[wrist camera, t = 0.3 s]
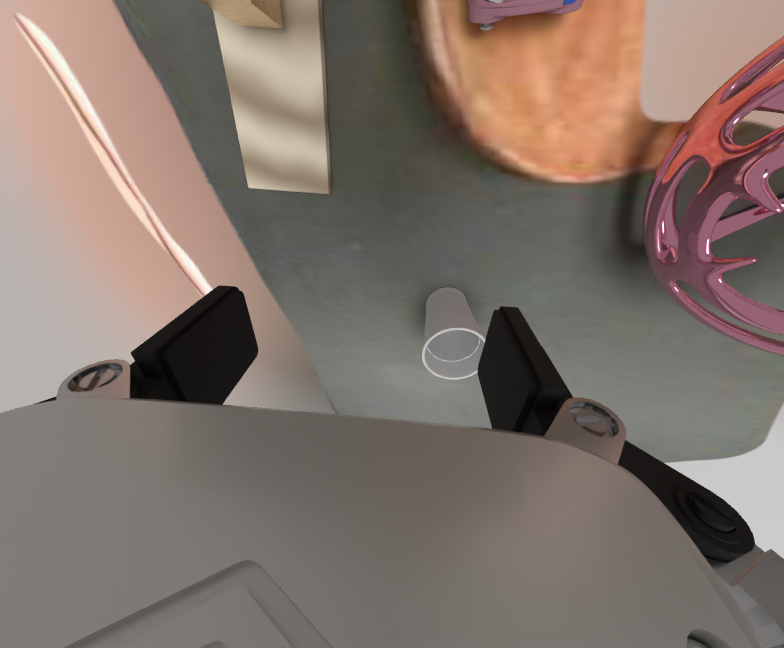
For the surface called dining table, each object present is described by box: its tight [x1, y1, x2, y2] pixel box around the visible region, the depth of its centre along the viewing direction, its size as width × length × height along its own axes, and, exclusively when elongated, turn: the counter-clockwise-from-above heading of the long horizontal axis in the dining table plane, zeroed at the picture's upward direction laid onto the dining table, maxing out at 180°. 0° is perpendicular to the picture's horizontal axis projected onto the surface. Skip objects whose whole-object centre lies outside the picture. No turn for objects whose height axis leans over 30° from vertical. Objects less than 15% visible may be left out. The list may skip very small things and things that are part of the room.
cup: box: [422, 287, 486, 379], centre depth 39 cm, size 8×8×12 cm
